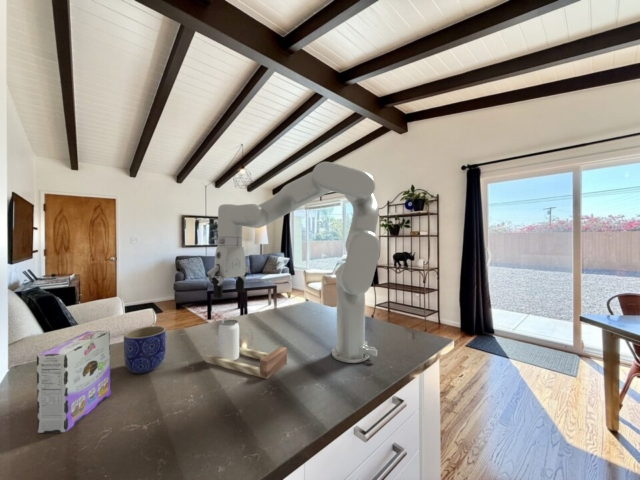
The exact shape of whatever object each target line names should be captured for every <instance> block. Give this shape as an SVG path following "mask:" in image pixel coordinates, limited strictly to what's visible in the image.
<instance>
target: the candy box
mask: <svg viewBox="0 0 640 480" xmlns="http://www.w3.org/2000/svg"><path fill="white" fill-rule="evenodd" d="M110 335H111V333H110V330H100V331H96V330H95V331H86V332H83V333H82V334H78V335H77V336H75V337H73V338H71V339H69V340H65V342H62V343H60V344H58V345H55V346H53V347H52V348H49V349H48V350H44V351H42V352H41V353H39V354H36V391H37V393H36V398H37V400H36V405H37V408H36V409H37V434H41V433H42V434H45V433H46V434H49V433H51V434H52V433H53V434H54V433H58V434H59V433H66V432H68V431H69V430H71V429H72V428H73V427H74V426H75V425H77V424H78V423H79V422H80V421H81V420H82V419H83V418H84V417H86V416H87V414H89V413H91V411H92V410H94V409H95V408H96V407H97V406H99V405H100V404H101V403H102V401H104V400H105V399H107V398H108V397H109V396H110V395H111V394H112V388H111V387H112V385H111V384H112V383H111V380H112V379H111V340H110V339H111V337H110Z"/></svg>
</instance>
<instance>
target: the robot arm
mask: <svg viewBox="0 0 640 480" xmlns="http://www.w3.org/2000/svg"><path fill="white" fill-rule="evenodd" d="M375 188H376V182H375V179H374V178H373V176H372V175H371V174H370V173H368V172H366V171H365V170H364V171H363V170H361V169H356V168H353V167H349V166H346V165H342V164H338V163H335V162H330V161H322V162H319V163H318V164H316V165H315V166H314V168H313V169H312V171H310V172H308V173H306V174H305V175H303V176H301V177H299V178H296V179H295V180H293V181H291V182H289V183H287V184H286V185H284V186H283V187H282V188H281V189H280V191H278V193H277V194H275V195H274V196H273V197H271V198H270V199H267V200H266V201H264V202H262V203H260V204H256V203H249V204H248V203H246V204H231V203H230V204H229V203H228V204H227V203H226V204H225V203H224V204H223V203H222V204H220V205H219V206H218V210H217V239H216V240H215V242H216V243H217V246H216V249H215V254H214V261H213V262H214V265H213V267H212V268H211V269H210V270H208V271H207V272H206V273H207V276H208V278H209V281H210V283H211V285H212V286H213V297H214V299H215V298H216V299H222V298H223V292H224V291H223V290H224V289H223V288H224V286H223V285H222V284H223V282H224V280H226V279H229V280H230V279H234V278H236V279H235V292H236V293H241V294H242V293H244V292H245V281H246V277H247V276H248V272H249V268H250V267H249V266H248V265H246V256H245V255H246V254H245V248H244V246H243V227H247V228H253V229H258V228H259V229H260V228H263V227H265V226H267V225H268V224H271V223H273V222H274V221H277V220H278V219H280V218H282V217H284V216H286V215H287V214H289V213H292V212H294V211H296V210H297V209H299V208H301V207H303V206H305V205H306V204H307V205H308V203H310V202H312V201H315V200H316V199H319V198H321V197H323V196H324V195H327V194H329V192H334V193H337V194H341V195H344V197H345V198H346V200H347V201H348V202H349V203H350V204H351V206H352V210H353V211H352V217H351V222H350V226H349V231H348V235H347V238H346V239H345V240H346V241H345V245H344V246H345V250H346V252H347V253H346V259H345V262H343V263H341V264H340V265H339V267H338V268H337V270H336V274H335V286H336V346H335V347H333V348H332V349H331V355H332V357H333V358H334V359H335V360H337V361H340V362H342V363H349V364H357V363H362V362H363V363H364V362H365V361H368V359H369V358H370V356H373V357H377V356H378V349H376V347H375V346H369V345H368V341H367V340H366V329H365V328H366V294H365V293H367V292H368V291H369V289H370V288H371V286H372V283H373V280H374V277H375V272H376V268H377V265H378V261H379V258H380V251H381V242H380V239H379V238H378V236H377V235H376V230H377V225H378V221H379V214H380V213H379V211H380V210H379V205H378V201H377V199H376V197H375V196H374V191H375Z"/></svg>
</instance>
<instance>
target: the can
mask: <svg viewBox="0 0 640 480" xmlns="http://www.w3.org/2000/svg"><path fill="white" fill-rule="evenodd" d="M217 331H218V334H217V335H218V337H217V338H218V344H217V346H218V347H217V348H218V357H221V358H224V359H228V360H232V361H237V360H238V359H239V358H240V354H239V347H240V325H239V322H238V320H237V319H224V320H223V321H220V322H219V326H218V330H217Z"/></svg>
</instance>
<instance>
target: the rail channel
mask: <svg viewBox="0 0 640 480" xmlns="http://www.w3.org/2000/svg"><path fill="white" fill-rule="evenodd" d="M287 353H288V347H284V346H279V347H278V348H276V349H274V350H273V351H271V352H269V353H268V352H265V351H259V350H255V349H252V348H247V347H243V346H239V356H245V357H250V358H252V359H257V360H259V367H258V366H256V365H251V364H247V363H243V362H241V361H240V362H239V361H237V360H235V361H232V360H228V359H224V358H221V357H219V356H215V355H214V354H213V355H212V354H209V353H208V354H206V355H204V357H205V358H204V360H205V363H208V364H211V365H215V366H218V367H223V368H225V369H229V370H233V371H237V372H241V373H244V374H247V375H252V376H255V377H258V378H261V379H266V380H268V379H269V378H270V377H272V376H273V375H274V374H276V373H277V372H279V370H281V369H282V368H283V367H284V366H286V365H287V362H288V357H287V356H288V354H287Z"/></svg>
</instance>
